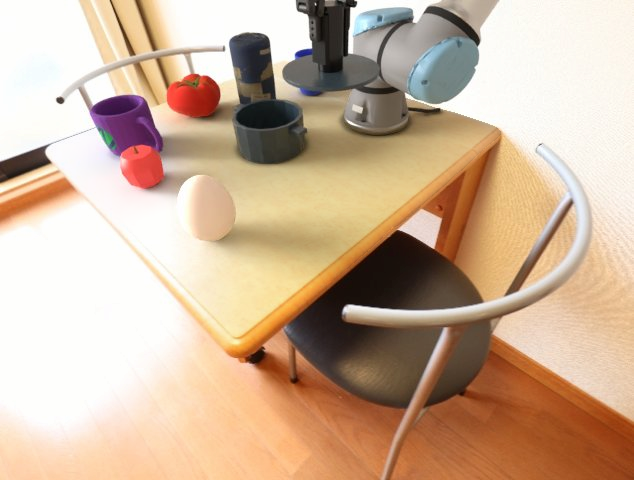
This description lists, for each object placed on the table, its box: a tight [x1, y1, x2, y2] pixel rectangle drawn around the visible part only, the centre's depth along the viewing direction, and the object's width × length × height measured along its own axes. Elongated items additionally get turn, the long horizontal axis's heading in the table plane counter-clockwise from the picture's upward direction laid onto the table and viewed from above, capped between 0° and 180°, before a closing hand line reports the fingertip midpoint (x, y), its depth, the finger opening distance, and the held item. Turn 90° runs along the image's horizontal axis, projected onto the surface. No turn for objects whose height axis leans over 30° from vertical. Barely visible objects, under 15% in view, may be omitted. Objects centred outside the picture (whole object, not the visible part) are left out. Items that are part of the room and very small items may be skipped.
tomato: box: [166, 73, 221, 119], centre depth 92 cm, size 14×13×9 cm
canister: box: [228, 31, 277, 105], centre depth 89 cm, size 10×10×18 cm
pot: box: [231, 98, 308, 165], centre depth 79 cm, size 15×20×8 cm
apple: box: [119, 145, 165, 189], centre depth 71 cm, size 8×8×8 cm
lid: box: [281, 0, 380, 93], centre depth 56 cm, size 16×16×10 cm
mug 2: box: [294, 47, 322, 96], centre depth 100 cm, size 8×12×10 cm
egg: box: [176, 174, 237, 242], centre depth 57 cm, size 9×9×11 cm
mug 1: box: [89, 94, 164, 157], centre depth 79 cm, size 17×11×10 cm, turn 55°
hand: (330, 58), depth 58 cm, fingers closed on lid, 4 cm apart
